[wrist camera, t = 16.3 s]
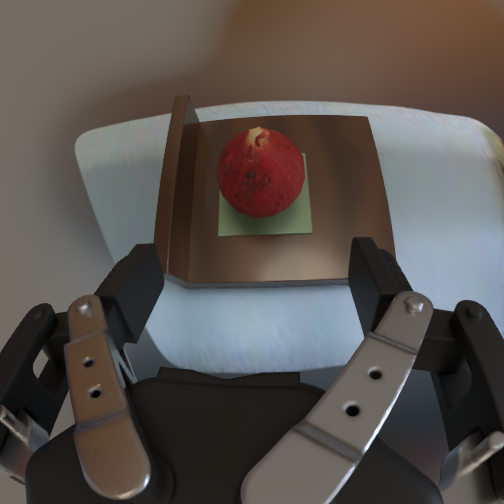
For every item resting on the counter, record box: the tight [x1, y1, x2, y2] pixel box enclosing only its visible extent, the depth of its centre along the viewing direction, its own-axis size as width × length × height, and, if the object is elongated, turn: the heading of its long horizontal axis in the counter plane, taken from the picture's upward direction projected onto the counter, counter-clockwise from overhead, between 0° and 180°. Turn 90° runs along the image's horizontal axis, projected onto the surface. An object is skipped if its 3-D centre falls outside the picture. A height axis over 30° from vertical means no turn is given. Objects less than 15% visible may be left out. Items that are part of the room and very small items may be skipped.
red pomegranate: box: [216, 127, 305, 218], centre depth 18 cm, size 6×6×8 cm
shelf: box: [154, 95, 396, 288], centre depth 22 cm, size 17×15×7 cm
